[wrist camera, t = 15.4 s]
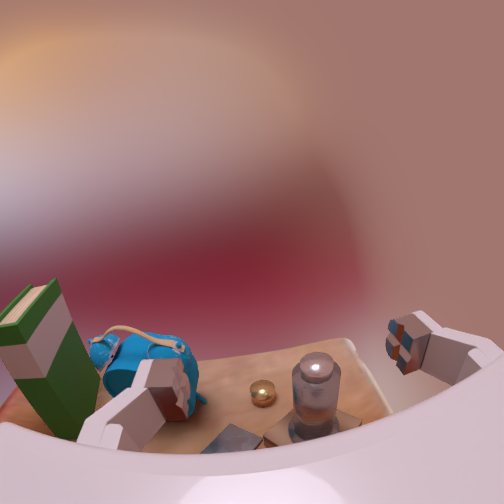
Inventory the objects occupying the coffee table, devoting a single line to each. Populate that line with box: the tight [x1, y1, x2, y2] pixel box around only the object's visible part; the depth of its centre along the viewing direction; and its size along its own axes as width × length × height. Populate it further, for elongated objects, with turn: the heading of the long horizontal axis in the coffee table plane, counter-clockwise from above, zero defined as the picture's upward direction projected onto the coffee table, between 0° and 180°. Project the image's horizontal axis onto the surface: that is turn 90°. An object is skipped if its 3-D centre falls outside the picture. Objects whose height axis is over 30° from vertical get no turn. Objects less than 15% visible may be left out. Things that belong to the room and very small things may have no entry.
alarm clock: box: [88, 326, 207, 417], centre depth 37 cm, size 17×10×20 cm, turn 87°
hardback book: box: [0, 278, 100, 439], centre depth 35 cm, size 18×7×24 cm, turn 17°
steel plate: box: [200, 423, 263, 454], centre depth 32 cm, size 8×6×1 cm
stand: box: [263, 409, 362, 448], centre depth 31 cm, size 10×10×3 cm
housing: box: [288, 352, 341, 443], centre depth 29 cm, size 7×7×14 cm
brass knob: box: [250, 380, 276, 408], centre depth 41 cm, size 4×4×3 cm
